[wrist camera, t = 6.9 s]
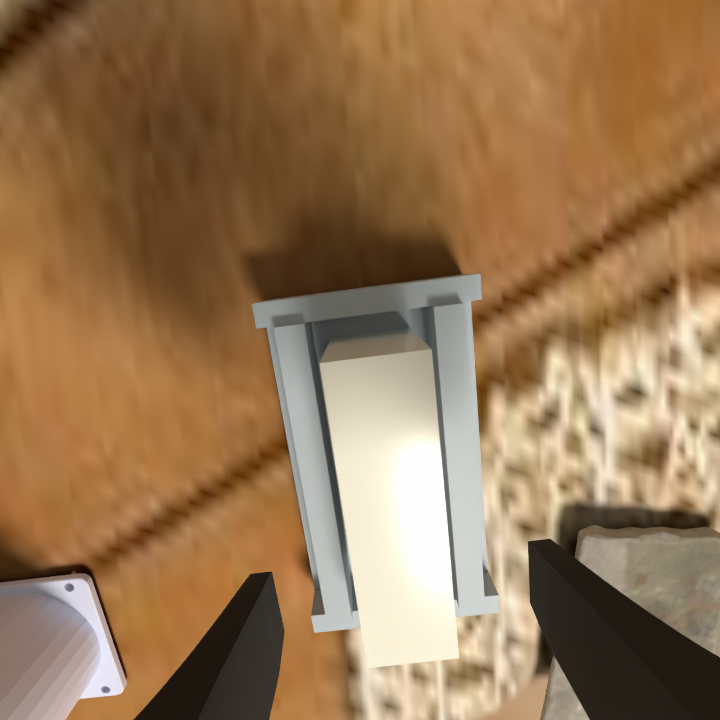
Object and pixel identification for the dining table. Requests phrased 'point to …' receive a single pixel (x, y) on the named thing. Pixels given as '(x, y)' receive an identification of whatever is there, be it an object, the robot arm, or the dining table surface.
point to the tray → (313, 439)
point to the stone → (649, 588)
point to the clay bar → (392, 493)
